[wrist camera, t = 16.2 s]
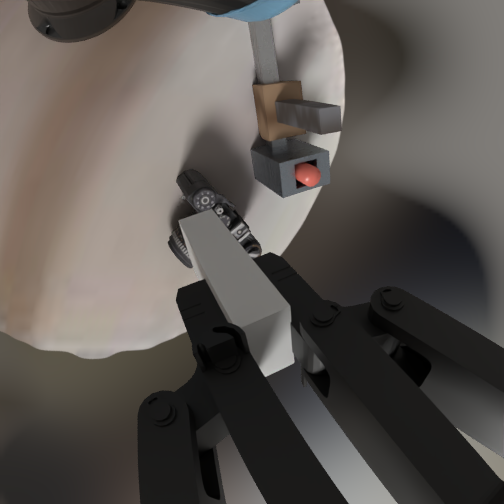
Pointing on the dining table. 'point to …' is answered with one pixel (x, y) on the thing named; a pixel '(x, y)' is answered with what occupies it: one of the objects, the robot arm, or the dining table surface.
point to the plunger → (307, 174)
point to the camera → (208, 198)
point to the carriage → (292, 112)
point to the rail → (281, 151)
